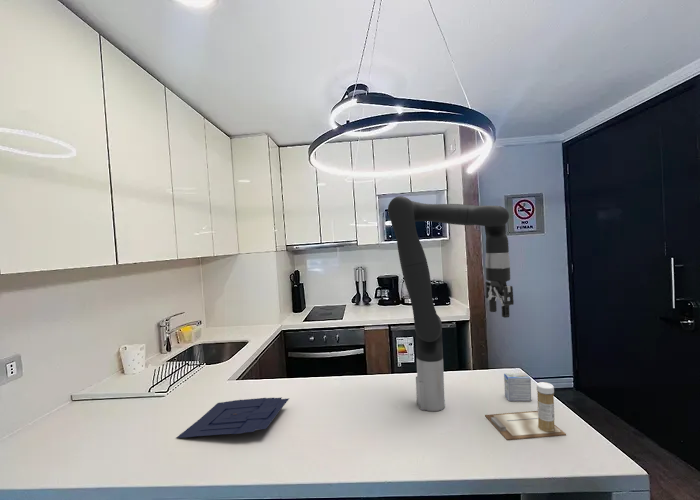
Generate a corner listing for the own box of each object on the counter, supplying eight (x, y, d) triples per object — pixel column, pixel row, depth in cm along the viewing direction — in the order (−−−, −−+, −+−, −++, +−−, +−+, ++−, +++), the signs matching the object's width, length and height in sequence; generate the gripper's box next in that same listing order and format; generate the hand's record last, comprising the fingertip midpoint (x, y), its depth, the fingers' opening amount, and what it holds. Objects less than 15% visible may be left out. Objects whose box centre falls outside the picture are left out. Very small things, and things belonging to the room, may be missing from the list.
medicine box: (526, 396, 127) (525, 372, 127) (531, 401, 123) (531, 377, 123) (504, 396, 128) (503, 372, 128) (508, 401, 124) (507, 377, 123)
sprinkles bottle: (543, 423, 107) (541, 380, 107) (558, 429, 104) (556, 385, 103) (534, 427, 105) (533, 384, 105) (550, 434, 101) (548, 389, 101)
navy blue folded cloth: (264, 441, 103) (262, 429, 103) (176, 446, 109) (174, 435, 109) (292, 403, 127) (291, 393, 127) (219, 409, 133) (217, 400, 133)
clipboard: (507, 440, 100) (506, 434, 100) (485, 416, 114) (484, 411, 114) (566, 435, 102) (566, 429, 101) (537, 411, 115) (537, 407, 115)
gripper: (477, 265, 122) (478, 310, 123) (497, 268, 108) (498, 319, 109) (497, 264, 123) (499, 309, 123) (520, 267, 109) (521, 318, 109)
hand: (499, 314), depth 116 cm, fingers open, 8 cm apart
